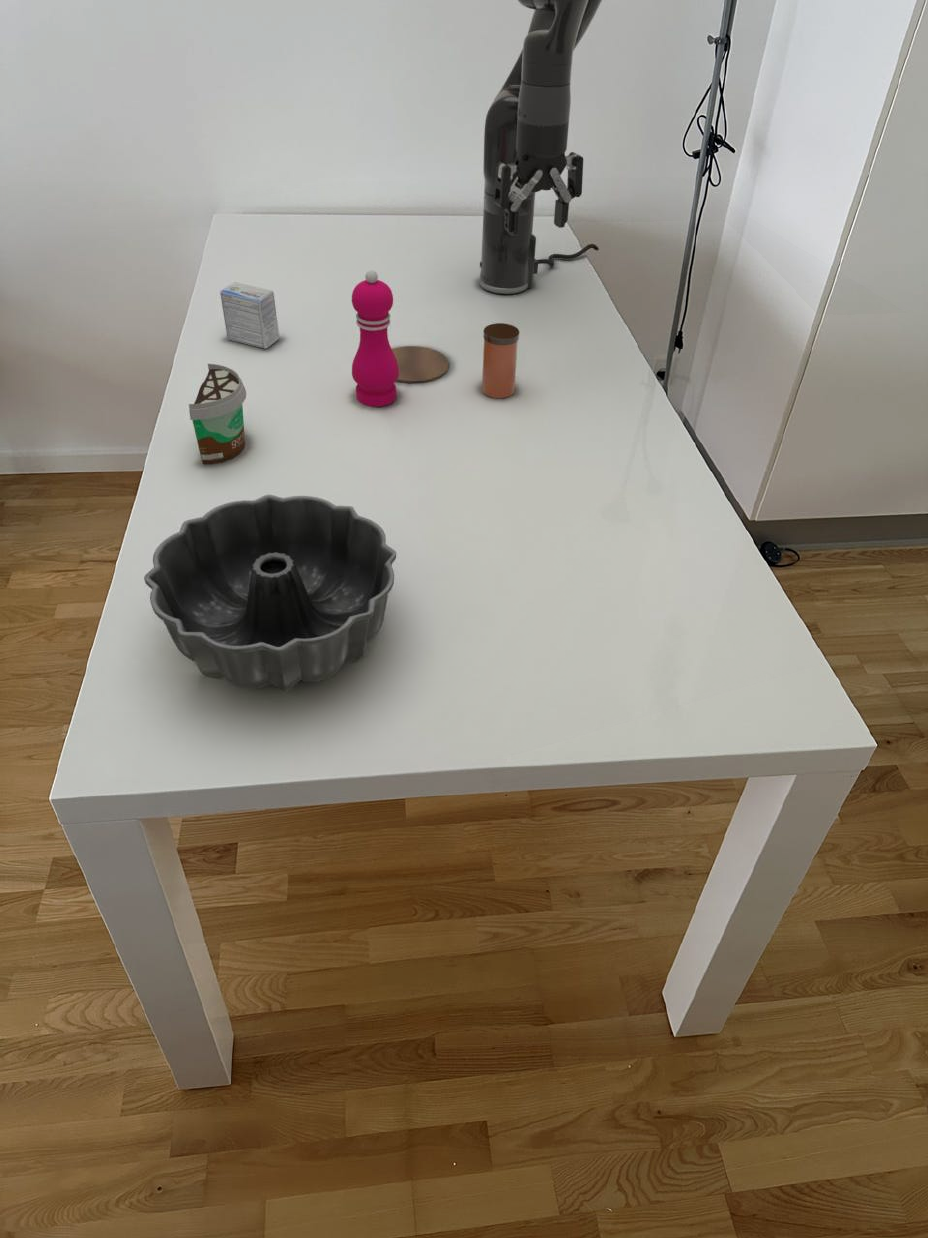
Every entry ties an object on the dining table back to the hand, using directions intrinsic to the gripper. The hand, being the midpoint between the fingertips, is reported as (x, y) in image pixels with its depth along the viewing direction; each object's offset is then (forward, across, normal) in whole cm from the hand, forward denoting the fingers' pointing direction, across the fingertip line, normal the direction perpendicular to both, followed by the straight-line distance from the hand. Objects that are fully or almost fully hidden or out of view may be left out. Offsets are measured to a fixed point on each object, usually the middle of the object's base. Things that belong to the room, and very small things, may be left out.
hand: (535, 229), depth 145 cm
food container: (+19, -55, -10) cm, 59 cm away
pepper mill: (+20, -30, -6) cm, 37 cm away
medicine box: (+19, -42, +20) cm, 51 cm away
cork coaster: (+19, -21, +2) cm, 29 cm away
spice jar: (+20, -12, -11) cm, 25 cm away
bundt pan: (+20, -60, -50) cm, 81 cm away
